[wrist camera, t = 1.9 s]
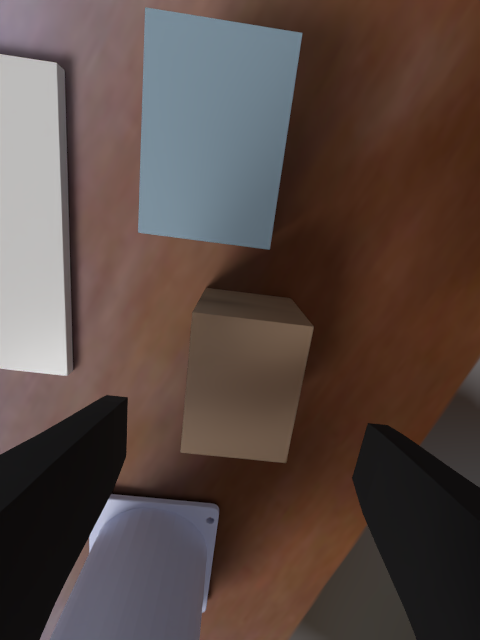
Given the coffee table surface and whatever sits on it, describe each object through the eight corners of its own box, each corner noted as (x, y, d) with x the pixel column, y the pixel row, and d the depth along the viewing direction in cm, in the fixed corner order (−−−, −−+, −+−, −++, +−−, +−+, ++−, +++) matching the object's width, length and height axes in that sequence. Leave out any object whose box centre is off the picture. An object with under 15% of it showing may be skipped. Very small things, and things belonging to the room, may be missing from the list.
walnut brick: (272, 399, 17) (285, 463, 13) (196, 391, 17) (180, 452, 12) (290, 297, 16) (314, 326, 11) (206, 287, 16) (192, 312, 11)
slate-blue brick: (259, 243, 15) (269, 249, 10) (170, 231, 15) (138, 232, 10) (279, 104, 13) (302, 33, 9) (179, 89, 13) (145, 7, 8)
